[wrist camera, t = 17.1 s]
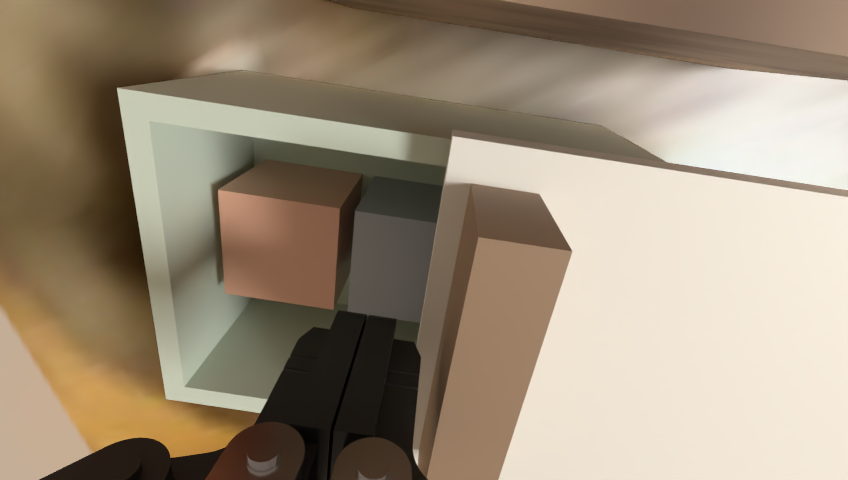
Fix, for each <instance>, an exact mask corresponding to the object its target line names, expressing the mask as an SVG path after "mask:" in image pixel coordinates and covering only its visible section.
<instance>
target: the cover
mask: <svg viewBox="0 0 848 480" xmlns="http://www.w3.org/2000/svg"><path fill="white" fill-rule="evenodd" d="M331 1H334V2H337V3H340V4H343V5H346V6H349V7H352V8H357V9H363V10H369V11H376V12H382V13H388V14H394V15H401V16H407V17H413V18H419V19H425V20H432V21H438V22H444V23H450V24H456V25H463V26H469V27H475V28H481V29H488V30H494V31H500V32H506V33H512V34H519V35H525V36H531V37H537V38H544V39H550V40H556V41H562V42H568V43H575V44H581V45H587V46H593V47H599V48H606V49H612V50H618V51H624V52H631V53H637V54H643V55H649V56H655V57H662V58H668V59H674V60H680V61H687V62H693V63H699V64H705V65H711V66H718V67H724V68H730V69H739V70H749V71H759V72H769V73H779V74H789V75H800V76H810V77H820V78H830V79H840V80H848V0H331Z"/></svg>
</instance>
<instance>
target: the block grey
mask: <svg viewBox="0 0 848 480" xmlns="http://www.w3.org/2000/svg"><path fill="white" fill-rule="evenodd" d="M442 190H443V186H438V185H432V184H425V183H419V182H412V181H406V180H399V179H393V178H386V177H380V176H374V178H373V180H372V182H371V184H370V185H369V187H368V189H367V191H366V192H365V194H364V196H363V198H362V199H361V201H360V203H359V205H358V206H357V208H356V210H355V217H354V230H353V243H352V257H351V270H350V283H349V296H348V309H347V311H349V312H355V313H362V314H367V315H375V316H382V317H388V318H395V319H397V320H404V321H410V322H417V323H420V322H421V316H422V310H423V304H424V298H425V292H426V286H427V280H428V274H429V268H430V262H431V256H432V250H433V244H434V238H435V232H436V226H437V220H438V214H439V208H440V202H441V196H442Z"/></svg>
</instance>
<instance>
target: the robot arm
mask: <svg viewBox="0 0 848 480" xmlns="http://www.w3.org/2000/svg"><path fill="white" fill-rule="evenodd" d="M396 323H397V319H395V318H388V317H382V316H375V315H369V316H368V318H367V314H362V313H355V312H349V311H342V310H338V312H337V314H336V316H335V318H334V321H333V323H332V325H331V328H330V329H325V328H318V327H313V328H312V329H310V330H309V331H308V332H306V333H305V334H304V335H303V336H301V337H300V338H299V339H298V341H297V343H296V345H295V347H294V349H293V351H292V353H291V355H290V357H289V358H288V360H287V362H286V364H285V366H284V370H283V371H282V372H281V374H280V376H279V378H278V380H277V382H276V384H275V386H274V388H273V390H272V392H271V394H270V395H269V397H268V399H267V401H266V403H265V405H264V407H263V409H262V411H261V413H260V415H259V417H258V419H257V421H256V422H255V424H254V425H253V426H251V427H248V428H247V429H245V430H243V431H241V432H240V433H239V434H237V435H236V436H235V437H234V438H233V439H232V440H231V441H230V442H229V444H228V445H227V446H226V447H225V448H223V449H220V450H217V451H214V452H209V453H204V454H197V455H190V456H183V457H176V458H170V454H169V451H168V449H167V448H166V447H165V446H164V445H163V444H162V443H160V442H159V441H156V440H154V439H149V438H132V439H127V440H123V441H119V442H116V443H114V444H111V445H109V446H107V447H105V448H103V449H101V450H99V451H97V452H95V453H92V454H90V455H88V456H86V457H84V458H82V459H81V460H79V461H76V462H74V463H72V464H70V465H68V466H66V467H64V468H62V469H60V470H58V471H56V472H54V473H52V474H50V475H48V476H46V477H44V478H42V479H40V480H428V479H427V478H426V477H425V476H424V475H423V473H422V472H421V471H420V469H419V468H418V466H417V464H416V461H415V458H414V455H413V437H414V427H415V416H416V406H417V396H418V385H419V374H420V364H421V356H420V354H419V351H418V349H417V347H416V345H415V343H414V342H411V341H404V340H398V339H394V338H395V330H396Z"/></svg>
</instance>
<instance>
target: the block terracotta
mask: <svg viewBox="0 0 848 480" xmlns="http://www.w3.org/2000/svg"><path fill="white" fill-rule="evenodd" d="M362 178H363V174H360V173H354V172H347V171H340V170H334V169H327V168H321V167H314V166H308V165H301V164H295V163H288V162H282V161H275V160H269V159H266V160H264V161H262V162H261V163H259V164H258V165H256V166H255V167H253V168H251V169H250V170H248V171H247V172H245V173H244V174H242V175H240V176H239V177H237V178H236V179H234V180H233V181H231V182H229V183H228V184H226V185H225V186H223V187H222V188H220V189H218V199H219V213H220V228H221V242H222V256H223V271H224V285H225V294H232V295H238V296H245V297H252V298H258V299H265V300H271V301H278V302H285V303H291V304H298V305H305V306H311V307H318V308H324V309H331V310H334V308H335V306H336V304H337V301H338V299H339V297H340V294H341V292H342V290H343V288H344V285H345V283H346V281H347V278H348V276H349V274H350V270H351V257H352V243H353V230H354V217H355V210H356V208H357V206H358V205H359V203H360V201H361V190H362Z"/></svg>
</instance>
